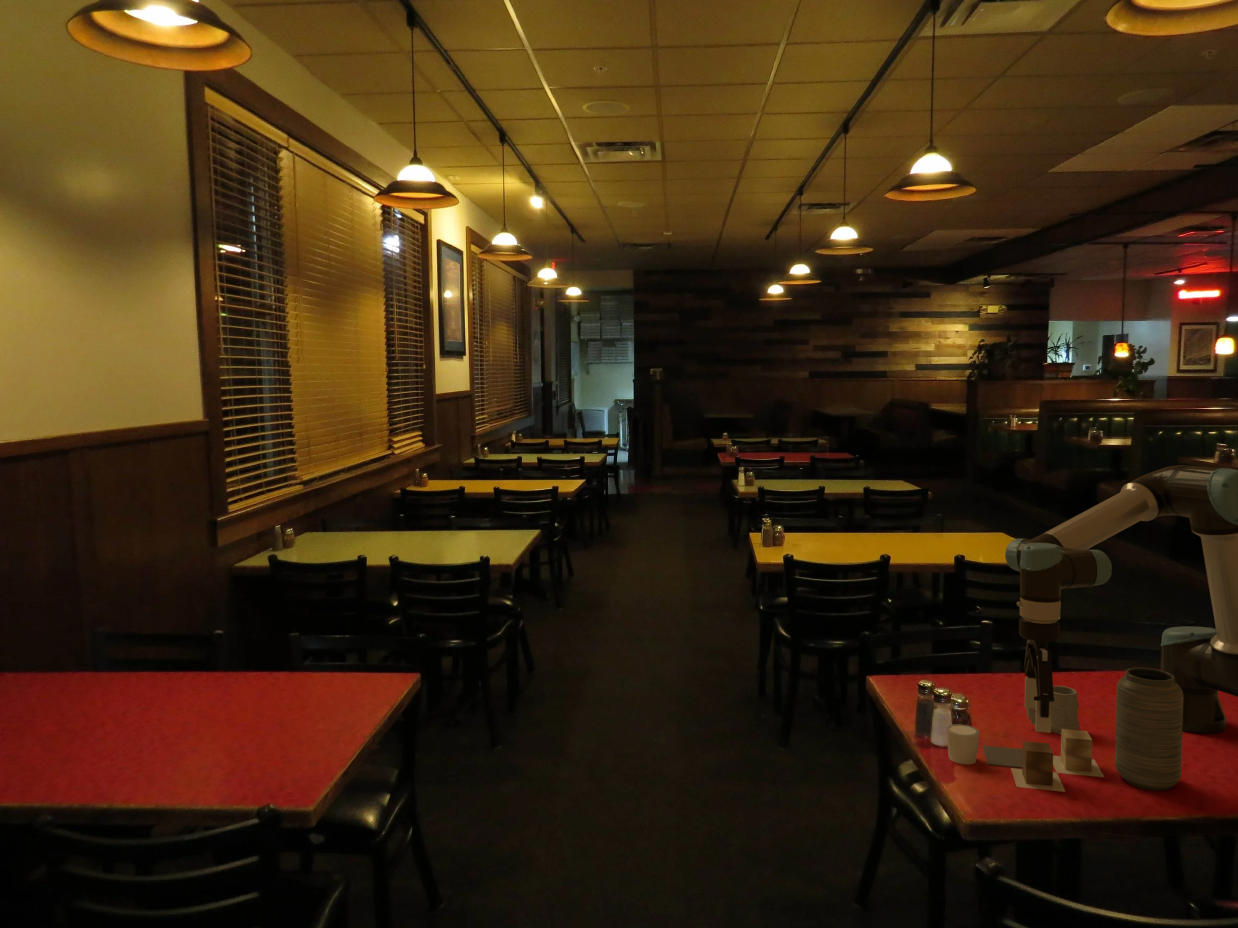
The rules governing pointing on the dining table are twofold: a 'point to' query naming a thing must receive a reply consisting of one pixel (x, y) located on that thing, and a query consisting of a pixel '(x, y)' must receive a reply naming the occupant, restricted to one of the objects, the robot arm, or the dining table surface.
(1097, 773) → the maple tile
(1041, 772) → the walnut block
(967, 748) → the beige short cylinder
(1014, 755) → the slate coaster
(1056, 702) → the mug
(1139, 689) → the vase
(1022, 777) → the white marker tile
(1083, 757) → the maple block
